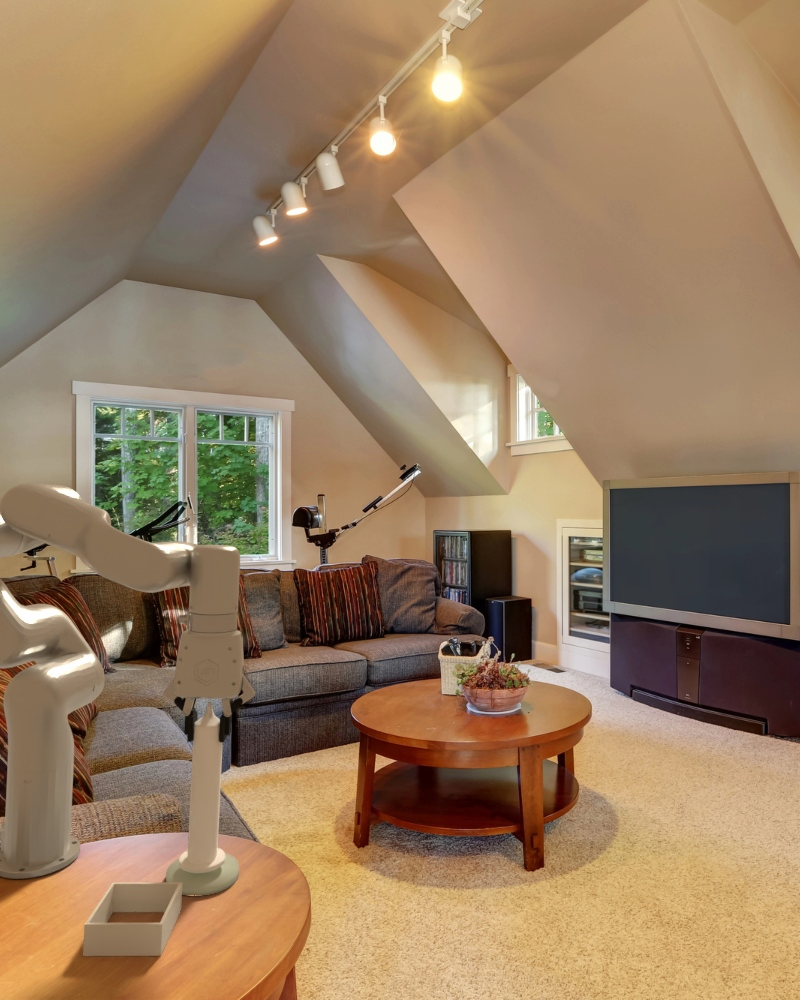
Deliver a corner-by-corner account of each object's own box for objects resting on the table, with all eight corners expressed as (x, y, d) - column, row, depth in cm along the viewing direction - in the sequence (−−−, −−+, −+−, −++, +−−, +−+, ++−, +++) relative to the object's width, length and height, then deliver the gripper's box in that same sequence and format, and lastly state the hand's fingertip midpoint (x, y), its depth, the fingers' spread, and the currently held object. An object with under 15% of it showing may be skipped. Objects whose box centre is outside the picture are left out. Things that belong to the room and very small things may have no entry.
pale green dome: (149, 885, 102) (150, 877, 102) (198, 852, 112) (198, 845, 112) (207, 904, 98) (208, 896, 98) (252, 868, 108) (253, 861, 108)
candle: (212, 876, 101) (220, 710, 101) (169, 869, 102) (177, 705, 103) (233, 853, 108) (240, 698, 108) (192, 847, 109) (200, 694, 110)
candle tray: (82, 956, 85) (84, 924, 86) (111, 910, 95) (112, 882, 95) (160, 955, 86) (162, 924, 86) (181, 910, 96) (182, 882, 96)
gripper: (151, 625, 101) (145, 746, 101) (263, 628, 102) (257, 748, 102) (165, 617, 109) (160, 730, 108) (269, 620, 110) (264, 732, 110)
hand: (207, 738), depth 105 cm, fingers closed on candle, 4 cm apart
